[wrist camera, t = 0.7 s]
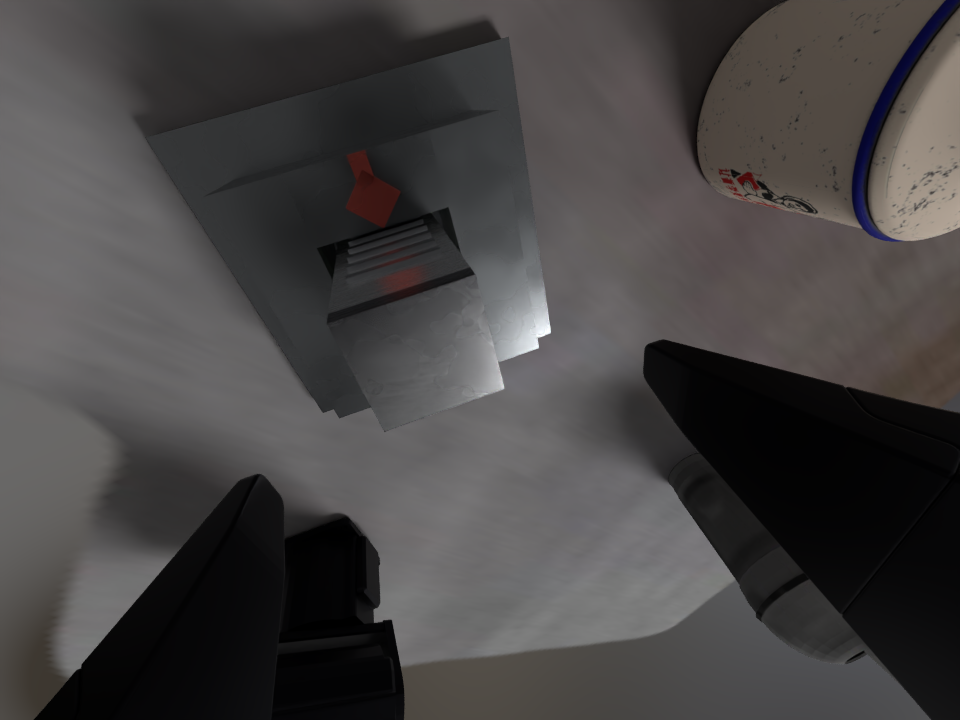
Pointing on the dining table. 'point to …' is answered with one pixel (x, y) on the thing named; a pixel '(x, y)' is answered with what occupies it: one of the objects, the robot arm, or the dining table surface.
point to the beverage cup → (765, 569)
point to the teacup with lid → (842, 115)
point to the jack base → (368, 197)
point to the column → (411, 322)
